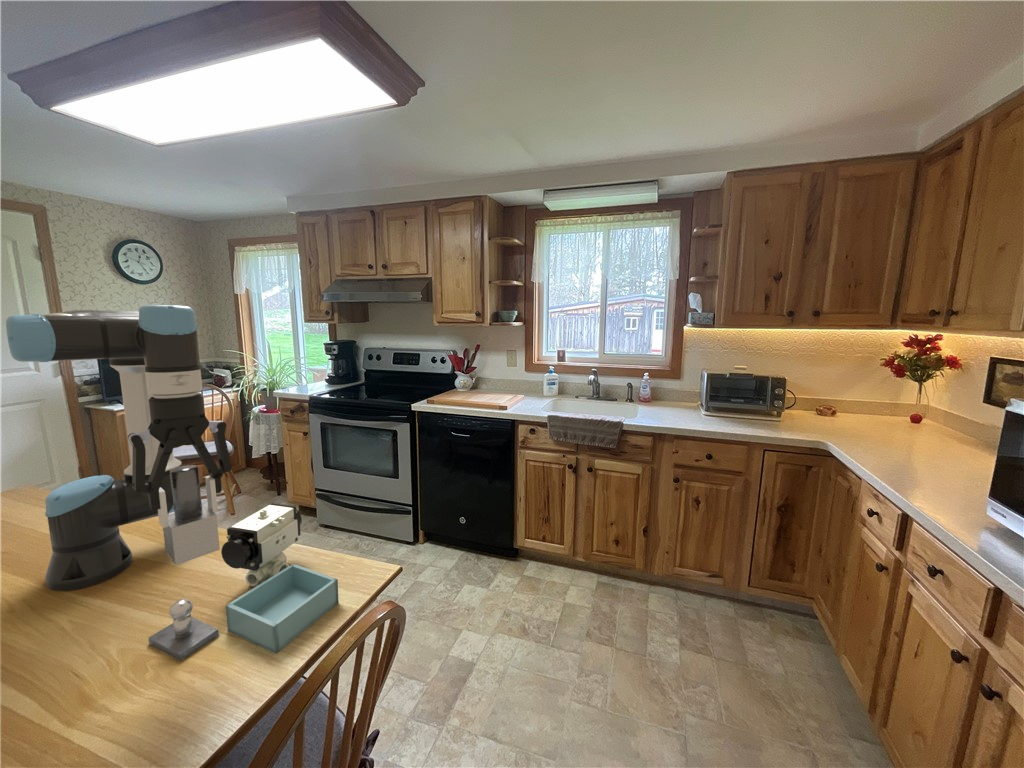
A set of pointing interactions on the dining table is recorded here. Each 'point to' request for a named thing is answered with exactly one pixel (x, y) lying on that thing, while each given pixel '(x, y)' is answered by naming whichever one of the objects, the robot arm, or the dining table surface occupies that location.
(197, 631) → the stud plate
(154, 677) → the dining table surface
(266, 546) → the ball valve
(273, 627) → the bin
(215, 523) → the block with domed cylinder
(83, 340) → the robot arm
